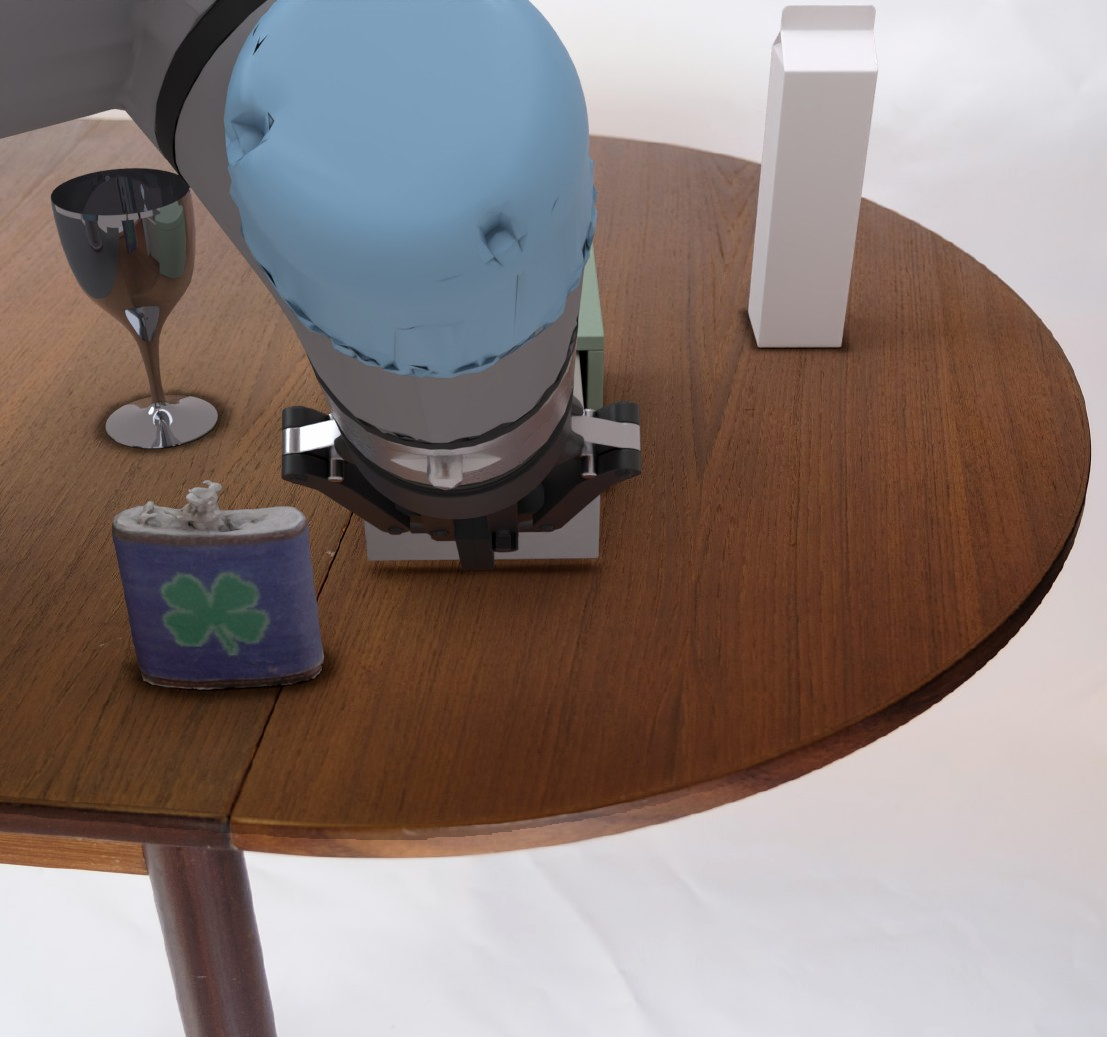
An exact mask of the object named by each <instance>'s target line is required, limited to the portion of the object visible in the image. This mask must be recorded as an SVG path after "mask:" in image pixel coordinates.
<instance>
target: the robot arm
mask: <svg viewBox="0 0 1107 1037" xmlns="http://www.w3.org/2000/svg"><path fill="white" fill-rule="evenodd" d="M111 110H118V111H125V113H126V114H127V115H128V116H129V117H130V118H131V120H132V121H133V123H135V124H136V126H137V127H138V128H139V130H141V131H142V133H143V134H144V135H145V136H146V138H147V139H148V140H149V141H150V142H151V144H152V145H153V146H154V147H155V148H156V149H157V151H159V154H161V156H162V157H163V158H164V159H165V160H166V161H167V162H168V164H169V165H170V166H171V168H172V169H173V170H174V171H175V172H176V174H177V175H179V176H180V178H181V179H182V180H183V181H184V183H186V184H187V185H188V186H189V187H190V190H192V191H193V193H194V195H195V196H196V197H197V198H198V199H199V201H200V203H201V204H202V205H203V207H204V208H205V209H206V210H207V212H208V213H209V214H210V216H212V218H213V219H214V220H215V222H216V223H217V225H218V226H219V227H220V228H221V230H222V231H223V232H224V233H225V235H226V236H227V237H228V239H229V240H230V242H231V243H232V244H233V246H234V247H235V248H236V249H237V251H238V252H239V254H241V256H242V257H243V258H244V260H245V261H246V263H247V264H248V266H250V268H251V269H252V270H253V271H254V273H255V274H256V275H257V277H258V278H259V280H260V281H261V282H262V283H263V285H264V286H265V287H266V289H267V290H268V292H269V293H270V295H271V296H272V297H273V299H274V300H275V302H276V304H277V305H278V306H279V308H280V309H281V310H282V312H283V314H284V315H285V317H286V318H287V320H288V322H289V324H290V325H291V327H292V329H293V331H294V332H295V334H296V336H297V337H298V339H299V342H300V344H301V346H302V348H303V349H304V352H305V354H306V357H307V360H308V362H309V364H310V367H311V368H312V371H313V373H314V376H315V378H316V380H317V383H318V385H319V387H320V389H321V391H322V393H323V396H324V398H325V400H326V403H327V405H328V407H329V410H330V413H328V414H327V413H324V412H322V411H320V410H317V409H314V408H310V407H307V406H304V405H292V406H289V407H286V408H283V409H281V464H280V465H281V468H280V470H281V472H280V473H281V474H280V476H281V477H280V478H281V480H283V481H285V482H289V483H292V484H294V485H298V486H302V487H305V488H308V489H312V490H314V491H318V492H319V493H321V494H323V495H325V497H327V498H329V499H331V500H332V501H333V502H335V503H337V504H338V505H340V506H341V507H343V508H345V509H346V510H348V511H349V512H351V513H353V514H354V515H355V516H357V517H359V518H360V519H362V520H363V521H364V520H365V521H367V522H368V523H370V524H371V525H373V526H374V527H376V528H378V529H379V530H381V531H383V532H386V533H389V534H391V535H400V534H402V533H406V532H409V531H410V523H419V524H423V525H424V528H425V531H426V533H427V534H429V535H430V536H431V539H433V540H435V541H455V542H456V546H457V550H458V554H459V558H460V560H459V562H460V566H461V570H462V571H495V559H494V552H500V553H507V552H515V551H518V537H519V523H521V522H524V521H531V520H533V528H534V529H536V530H541V531H542V532H553V531H554V530H557V529H560V528H562V527H563V526H564V525H565V524H567V523H568V522H569V521H570V520H571V519H572V518H573V517H575V516H576V515H577V514H578V513H579V512H580V511H582V510H583V509H584V508H585V507H586V506H587V505H588V504H590V503H591V502H592V501H593V500H594V499H595V498H596V497H598V496H599V495H600V496H601V494H602V493H603V492H605V491H606V490H607V489H608V488H609V487H611V486H614V485H616V484H619V483H622V482H625V481H628V480H630V479H633V478H636V477H638V476H641V474H642V441H641V440H642V438H641V436H642V435H641V434H642V432H641V406H640V404H638V403H635V402H630V401H628V400H619V401H616V402H613V403H610V404H607V405H605V406H603V408H600V409H598V410H596V411H595V410H593V409H584V410H583V406H582V404H581V402H580V401H579V400H578V399H577V398H576V397H575V396H574V395H573V391H574V372H575V361H576V348H577V334H578V320H579V311H580V303H581V294H582V285H583V277H584V268H585V265H586V263H587V261H588V260H589V258H590V248H591V245H592V241H593V240H594V237H595V232H596V226H597V218H598V210H597V208H596V206H595V204H596V203H597V201H598V200H597V199H598V194H599V192H598V191H597V189H596V187H595V161H594V160H593V158H592V157H590V124H589V115H588V114H589V113H588V108H587V102H586V98H585V93H584V90H583V86H582V82H581V79H580V76H579V73H578V70H577V68H576V65H575V63H574V62H573V60H572V57H571V55H570V53H569V50H568V49H567V47H566V45H565V44H564V43H563V41H562V40H561V38H560V35H559V34H558V33H557V31H556V30H555V29H554V27H553V26H552V24H551V23H550V21H548V19H547V18H546V17H545V16H544V14H543V13H542V12H541V11H540V9H538V8H537V7H536V6H535V5H534V4H533V3H532V2H531V1H530V0H0V140H1V139H5V138H9V137H13V136H18V135H21V134H24V133H28V132H32V131H36V130H40V129H44V128H48V127H52V126H55V125H60V124H62V123H63V124H64V123H66V122H70V121H75V120H79V119H82V118H83V119H84V118H87V117H91V116H93V115H98V114H100V113H104V112H108V111H111ZM593 242H594V241H593Z"/></svg>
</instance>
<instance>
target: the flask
mask: <svg viewBox="0 0 1107 1037" xmlns="http://www.w3.org/2000/svg"><path fill="white" fill-rule="evenodd" d="M202 484H203V485H205V486H208V487H202V486H201V487H198V486H195V487H193V488H191V489H190V488H189V489H188V490H187V491H188V492H189V493H188V494H186V496H185V498H186V501H187V502H188V503H186V504H184V505H183V506H182V507H181V508H178V509H177V508H173V507H167V506H159V505H157V504H155V502H154V501H153V500H149V501H147V502H146V503H145V504H144V505H137V506H131V507H130V508H127V509H123V510H121V511H120V512H118V513H117V514H115V515H114V518H113V521H112V523H111V536H112V542H113V543H112V544H113V545H114V551H115V555H116V560H117V566H118V569H119V576H120V580H121V586H122V590H123V596H124V601H125V605H126V609H127V614H128V625H129V628H130V635H131V638H132V639H131V640H132V645H133V647H134V653H135V655H136V659H137V664H138V668H139V670H140V673H141V677H142V680H143V682H147V683H149V684H151V685H152V686H155V685H156V686H159V687H164V688H178V689H190V690H192V689H194V690H195V689H197V690H208V691H209V690H213V689H218V690H223V689H226V688H238V689H242V688H256V687H257V688H261V687H271V686H278V685H281V686H283V685H284V686H288V685H293V684H297V683H300V682H302V681H303V682H304V681H310V679H313V680H314V679H315V678H316V677H317V676H318V675H319V674H320V673H321V672H322V668H323V664H324V660H325V655H324V647H323V643H322V635H321V629H320V628H321V627H320V620H319V606H318V605H319V604H318V601H317V598H316V588H315V582H314V569H313V564H312V557H311V547H310V545H311V544H310V531H309V530H310V529H309V528H310V527H309V522H308V520H307V517H306V516H305V514H303V512H302V511H301V510H299V509H298V508H297V507H295V506H288V505H287V506H286V505H284V506H283V505H281V506H279V505H277V506H271V507H258V508H253V509H250V508H249V509H248V508H242V509H233V510H232V509H220V508H219V507H220V506H219V504H218V499H219V497H218V496H219V495H218V493H219V492H221V491H222V489H223V488H222V485H221V484H220V483H219V482H214V481H213V482H212V481H211V480H209V479H206V480H204V481H202Z"/></svg>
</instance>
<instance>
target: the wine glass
mask: <svg viewBox="0 0 1107 1037" xmlns="http://www.w3.org/2000/svg"><path fill="white" fill-rule="evenodd" d="M191 190H192V189H191V188H190V187H189V186H188V185H187V184H186V183H184V181H183V180H182V179H181V178H180V176H179V175H178V174H177V173H174V172H171V171H169V170H163V169H156V168H145V167H128V168H127V167H124V168H123V167H122V168H112V169H106V170H99V171H94V172H89V173H86V174H82V175H79V176H76V177H73V178H70V179H68V180H66V181H64V182H62V183H61V184H59V185H57V186H56V187H55V188H54V189H53V190H52V191H51V193H50V203H51V207H52V214H53V218H54V224H55V228H56V232H57V235H58V238H59V244H60V245H61V248H62V251H63V253H64V256H65V259H66V261H67V264H68V266H69V268H70V270H71V273H72V274H73V277H74V279H75V281H76V282H77V284H78V286H79V288H80V289H81V290H82V292H83V294H85V295H86V296H87V297H88V298H89V299H90V300H91V302H93V304H95V305H96V306H98V307H99V308H100V309H101V310H102V311H104V312H106V313H107V314H108V315H109V316H111V317H112V318H113V319H115V320H116V321H117V322H119V323H120V324H121V325H122V326H123V327H124V328H125V329H126V330H127V332H128V333H129V334H130V335H131V336H132V337H133V339H134V341H135V342H136V345H137V348H138V350H139V352H140V355H141V359H142V361H143V365H144V369H145V372H146V376H147V380H148V385H149V390H150V396H149V397H144V398H140V399H138V400H134V401H131V402H129V403H127V404H125V405H122V406H120V407H119V408H118V409H116V410H115V411H113V412H112V413H111V414H110V415H109V417H108V418H107V419H106V422H105V432H106V434H107V436H108V437H110V438H111V440H113V441H115V442H116V443H118V444H121V445H124V446H128V447H132V448H139V449H161V448H170V447H175V446H180V445H184V444H187V443H190V442H193V441H195V440H197V439H200V438H201V437H203V436H205V435H206V434H208V433H209V432H211V431H212V430H213V429H214V427H215V426H216V425H217V423H218V421H219V413H218V411H217V409H216V407H215V406H214V405H212V403H210V402H208V401H207V400H204V399H202V398H199V397H196V396H192V395H183V394H165V392H164V388H163V383H162V376H161V367H160V338H161V333H162V330H163V327H164V325H165V323H166V321H167V319H168V317H169V316H170V315H171V313H172V312H173V310H174V309H175V308H176V306H177V305H178V303H179V302H180V300H181V299H182V298H183V296H184V295H185V293H186V292H187V291H188V288H189V287H190V284H191V282H192V279H193V275H194V270H195V264H196V253H197V228H196V219H195V217H196V216H195V209H194V202H193V196H192V191H191Z"/></svg>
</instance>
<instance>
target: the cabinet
mask: <svg viewBox="0 0 1107 1037" xmlns="http://www.w3.org/2000/svg"><path fill="white" fill-rule="evenodd" d="M604 329H605V328H604V321H603V314H602V305H601V298H600V292H599V281H598V273H597V265H596V258H595V249H594V241H592V245H591V248H590V258H589V260H588V261H587V263H586V265H585V268H584V277H583V285H582V294H581V303H580V311H579V320H578V334H577V348H576V350H579V360H580V371H581V382H582V393H583V405H584V409H593V410H595V411H596V410H598V409H600V408H603V407H604V374H605V373H604V372H605V371H604V369H605V330H604Z"/></svg>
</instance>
